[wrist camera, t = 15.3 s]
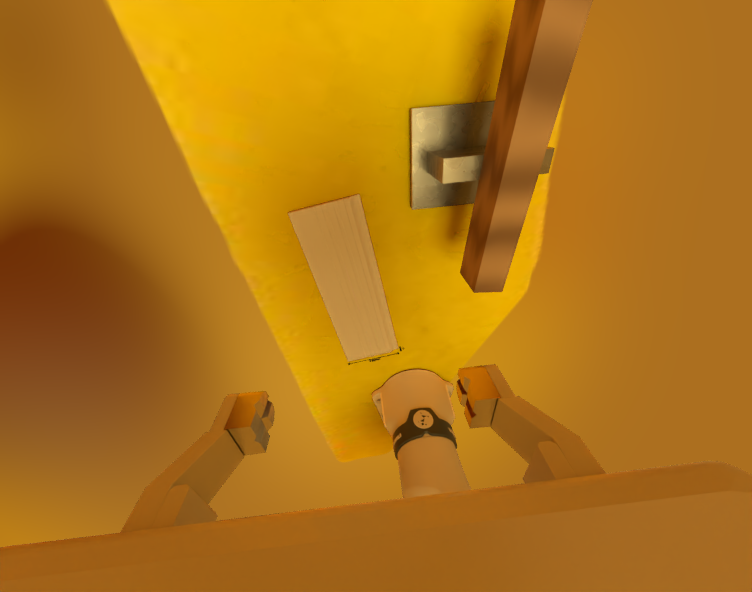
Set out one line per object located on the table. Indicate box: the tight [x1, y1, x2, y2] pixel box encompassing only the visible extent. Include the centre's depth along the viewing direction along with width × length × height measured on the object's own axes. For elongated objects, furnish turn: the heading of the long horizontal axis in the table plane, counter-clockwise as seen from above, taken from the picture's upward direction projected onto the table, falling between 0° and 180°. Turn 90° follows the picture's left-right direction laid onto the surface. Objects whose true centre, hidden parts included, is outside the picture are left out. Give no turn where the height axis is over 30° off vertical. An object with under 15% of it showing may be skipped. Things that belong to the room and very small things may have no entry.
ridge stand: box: [410, 101, 554, 210], centre depth 34 cm, size 12×16×9 cm
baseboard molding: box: [288, 194, 405, 365], centre depth 47 cm, size 31×3×12 cm
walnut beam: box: [460, 0, 593, 293], centre depth 28 cm, size 26×4×5 cm, turn 179°
